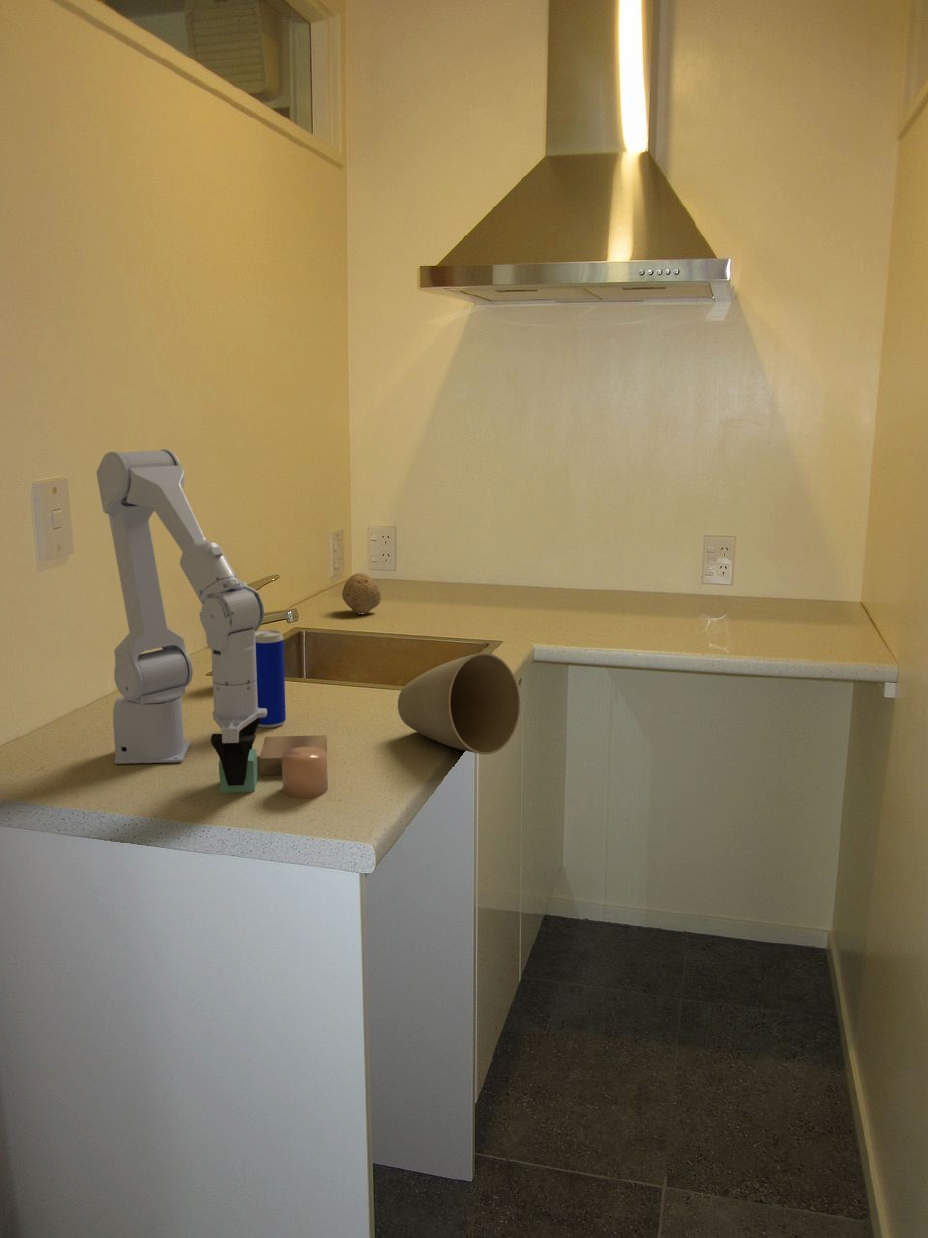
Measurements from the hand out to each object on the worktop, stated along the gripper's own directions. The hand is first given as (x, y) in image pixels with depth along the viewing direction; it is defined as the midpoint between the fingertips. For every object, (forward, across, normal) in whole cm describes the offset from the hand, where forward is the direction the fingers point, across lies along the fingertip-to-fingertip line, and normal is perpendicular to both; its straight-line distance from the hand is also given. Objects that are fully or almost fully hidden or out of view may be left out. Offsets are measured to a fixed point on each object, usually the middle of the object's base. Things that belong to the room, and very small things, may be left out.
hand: (238, 775), depth 137 cm
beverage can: (+2, +26, -2) cm, 26 cm away
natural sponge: (+2, +106, -17) cm, 107 cm away
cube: (+2, 0, 0) cm, 2 cm away
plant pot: (-2, +22, -25) cm, 33 cm away
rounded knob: (+2, -2, -9) cm, 9 cm away
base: (+1, +8, -7) cm, 11 cm away
